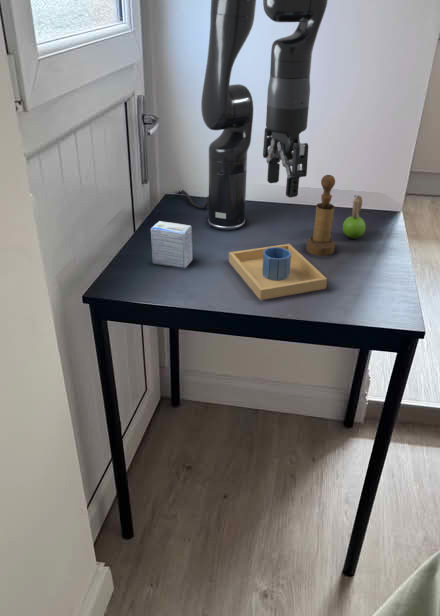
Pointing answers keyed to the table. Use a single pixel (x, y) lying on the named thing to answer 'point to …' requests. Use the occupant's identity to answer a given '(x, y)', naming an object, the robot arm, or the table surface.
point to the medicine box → (171, 244)
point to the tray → (298, 280)
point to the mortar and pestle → (323, 222)
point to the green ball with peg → (354, 221)
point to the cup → (276, 263)
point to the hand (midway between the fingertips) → (281, 189)
